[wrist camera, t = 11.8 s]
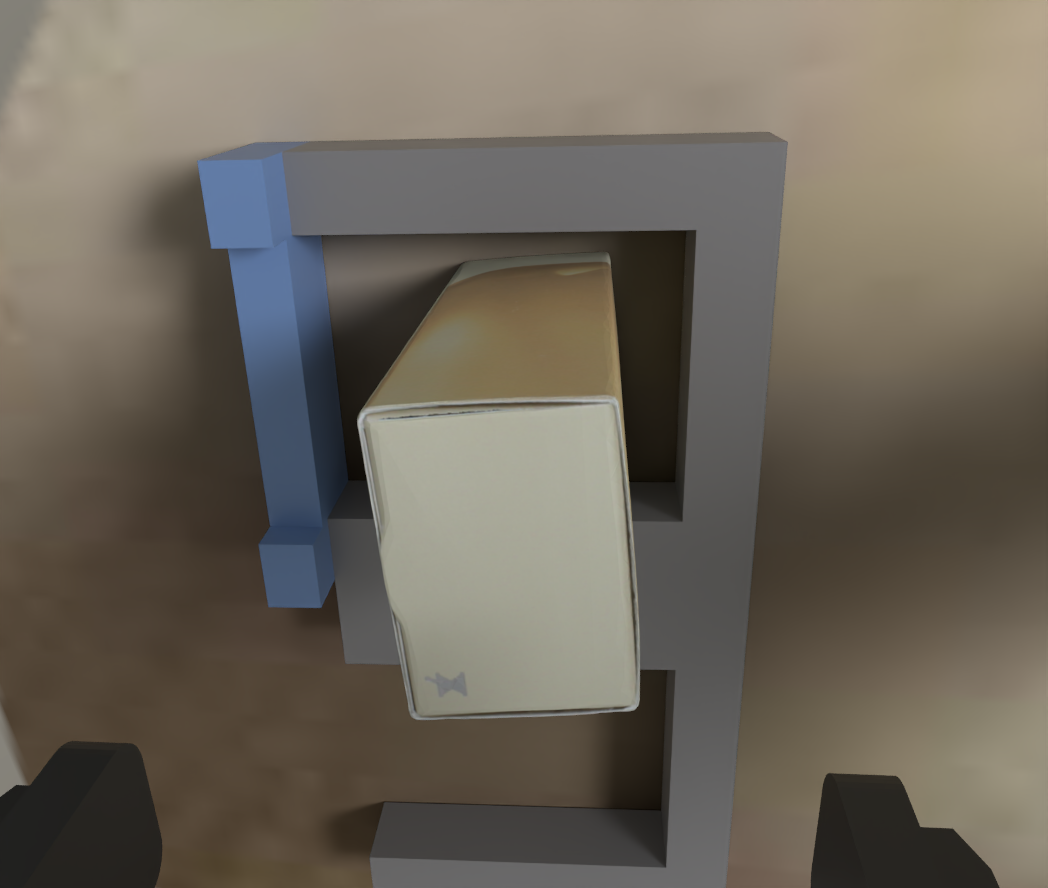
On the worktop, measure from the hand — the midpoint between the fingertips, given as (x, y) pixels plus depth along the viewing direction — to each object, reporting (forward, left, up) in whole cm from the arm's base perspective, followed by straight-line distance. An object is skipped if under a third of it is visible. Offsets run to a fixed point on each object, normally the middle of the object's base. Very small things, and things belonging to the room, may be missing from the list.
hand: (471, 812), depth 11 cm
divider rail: (+1, +6, -17) cm, 18 cm away
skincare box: (0, 0, -18) cm, 18 cm away
